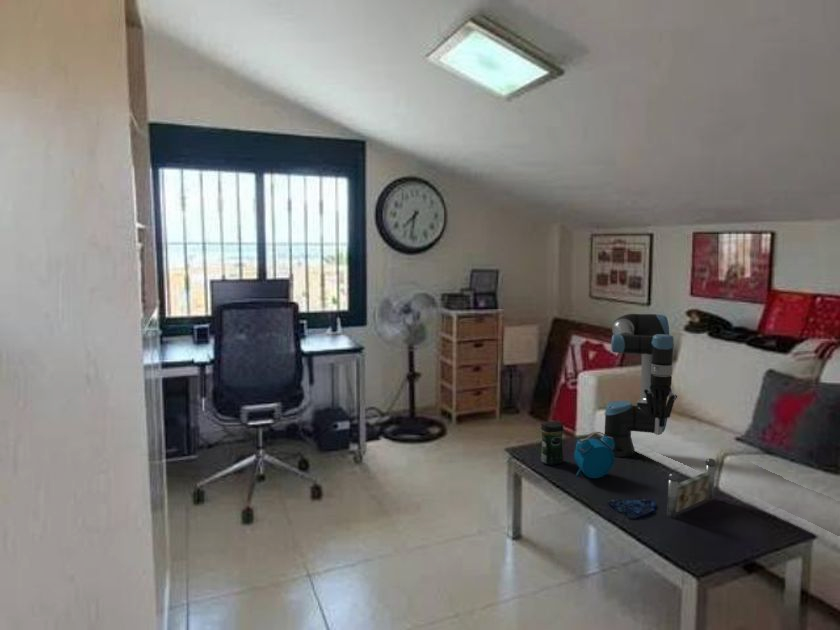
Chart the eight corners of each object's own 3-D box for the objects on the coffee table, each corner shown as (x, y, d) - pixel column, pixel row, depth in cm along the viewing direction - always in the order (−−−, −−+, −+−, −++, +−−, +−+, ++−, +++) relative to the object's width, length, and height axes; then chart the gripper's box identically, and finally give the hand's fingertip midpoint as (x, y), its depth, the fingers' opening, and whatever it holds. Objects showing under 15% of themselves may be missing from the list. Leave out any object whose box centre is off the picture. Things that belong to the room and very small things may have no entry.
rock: (603, 503, 216) (603, 498, 216) (642, 498, 221) (643, 493, 220) (627, 522, 202) (627, 516, 202) (668, 516, 207) (669, 511, 206)
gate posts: (706, 496, 221) (709, 456, 219) (715, 499, 218) (717, 459, 216) (664, 515, 206) (666, 472, 204) (673, 519, 203) (675, 475, 201)
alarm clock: (603, 469, 247) (605, 424, 245) (617, 479, 237) (619, 432, 235) (568, 474, 243) (569, 428, 240) (580, 483, 233) (582, 435, 231)
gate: (703, 496, 218) (704, 472, 217) (712, 499, 215) (713, 475, 214) (672, 510, 207) (674, 485, 206) (681, 513, 204) (682, 488, 203)
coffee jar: (556, 457, 261) (557, 417, 259) (565, 464, 254) (566, 423, 251) (537, 460, 259) (538, 419, 256) (545, 466, 251) (546, 425, 249)
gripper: (640, 372, 226) (637, 431, 229) (671, 379, 215) (667, 440, 218) (652, 370, 230) (649, 427, 233) (682, 376, 219) (679, 436, 222)
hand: (658, 433), depth 225 cm, fingers closed
